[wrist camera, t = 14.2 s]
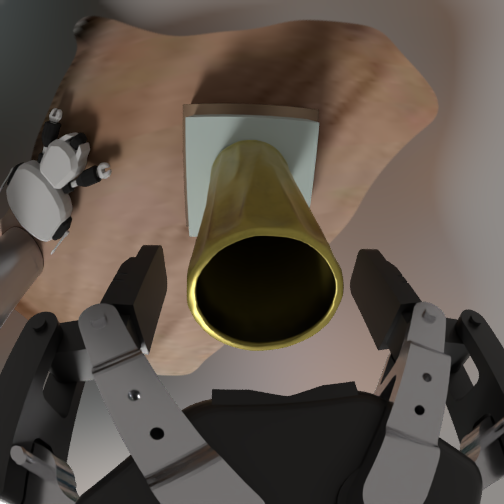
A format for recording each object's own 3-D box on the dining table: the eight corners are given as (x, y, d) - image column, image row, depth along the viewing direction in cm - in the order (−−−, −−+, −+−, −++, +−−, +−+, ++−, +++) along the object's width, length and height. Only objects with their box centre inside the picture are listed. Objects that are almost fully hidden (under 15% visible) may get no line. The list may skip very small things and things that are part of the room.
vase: (243, 123, 19) (252, 166, 7) (305, 172, 21) (389, 283, 9) (195, 185, 21) (141, 312, 9) (256, 227, 23) (274, 375, 11)
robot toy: (66, 100, 23) (12, 186, 26) (46, 101, 19) (-7, 196, 23) (126, 167, 28) (62, 244, 32) (112, 176, 24) (47, 260, 28)
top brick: (195, 217, 27) (189, 236, 23) (193, 114, 22) (185, 117, 18) (296, 219, 27) (305, 238, 24) (307, 119, 22) (319, 122, 19)
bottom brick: (192, 211, 31) (186, 226, 27) (190, 104, 25) (182, 104, 21) (297, 213, 31) (305, 228, 28) (308, 108, 25) (318, 109, 22)
